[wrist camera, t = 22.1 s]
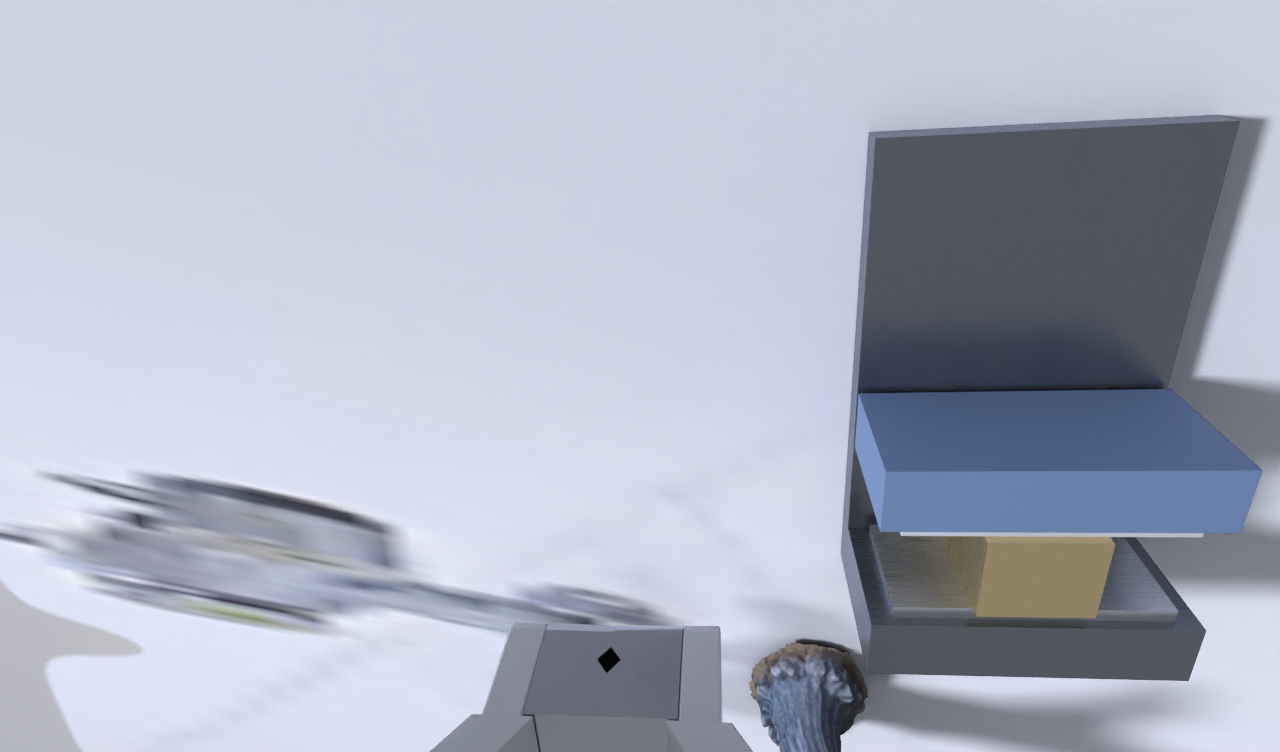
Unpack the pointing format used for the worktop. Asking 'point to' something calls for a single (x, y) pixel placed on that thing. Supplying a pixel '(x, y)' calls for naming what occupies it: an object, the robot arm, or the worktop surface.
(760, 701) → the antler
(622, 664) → the robot arm
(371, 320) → the worktop surface
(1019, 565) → the brass block
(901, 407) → the sliding jaw
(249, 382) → the worktop surface
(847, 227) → the worktop surface
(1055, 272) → the base
